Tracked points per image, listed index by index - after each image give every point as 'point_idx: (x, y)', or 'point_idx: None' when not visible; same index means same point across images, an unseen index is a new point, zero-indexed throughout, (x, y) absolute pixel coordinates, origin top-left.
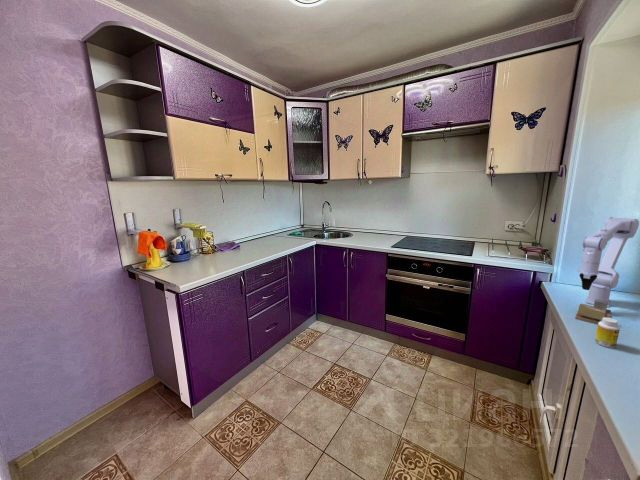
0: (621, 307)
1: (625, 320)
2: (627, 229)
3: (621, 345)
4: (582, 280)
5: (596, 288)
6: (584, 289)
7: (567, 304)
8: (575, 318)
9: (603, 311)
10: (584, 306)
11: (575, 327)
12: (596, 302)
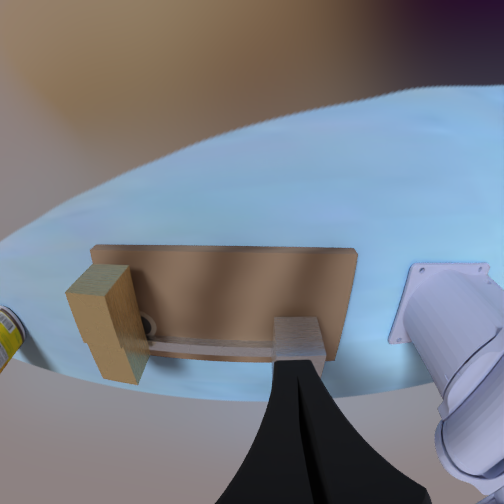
0: (415, 364)
1: (262, 386)
2: None
3: (39, 352)
4: (241, 468)
5: (455, 364)
6: (273, 371)
7: (316, 179)
8: (95, 246)
9: (116, 377)
10: (89, 316)
11: (24, 255)
12: (275, 356)
